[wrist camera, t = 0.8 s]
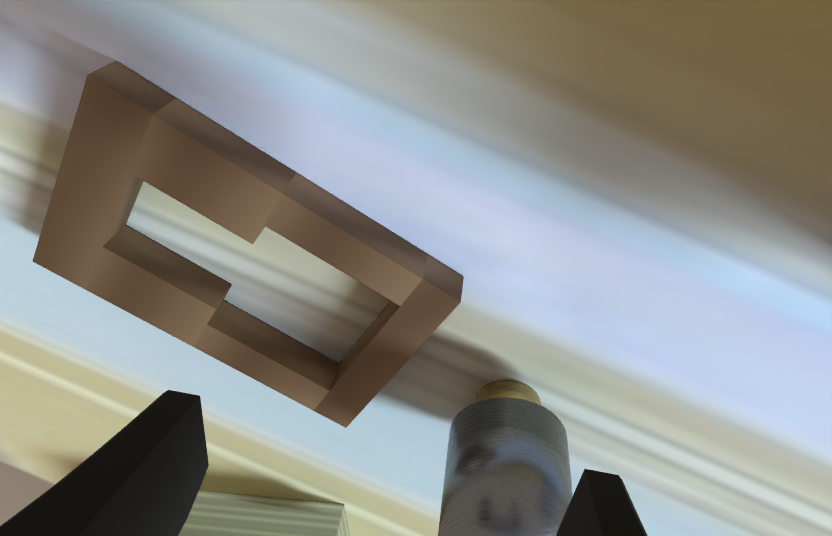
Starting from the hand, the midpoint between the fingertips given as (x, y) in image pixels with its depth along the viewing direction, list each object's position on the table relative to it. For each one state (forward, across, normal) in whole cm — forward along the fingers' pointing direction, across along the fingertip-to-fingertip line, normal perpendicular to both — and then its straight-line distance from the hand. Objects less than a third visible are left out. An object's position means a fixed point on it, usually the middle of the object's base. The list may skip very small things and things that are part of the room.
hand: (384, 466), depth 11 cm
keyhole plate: (+10, +6, +3) cm, 12 cm away
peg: (+10, -4, +8) cm, 14 cm away
